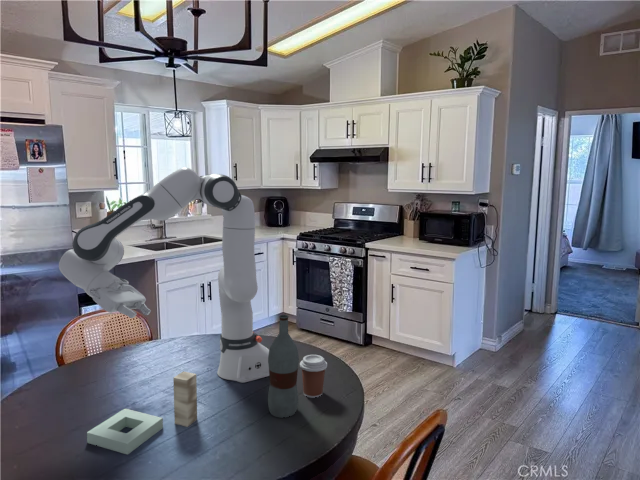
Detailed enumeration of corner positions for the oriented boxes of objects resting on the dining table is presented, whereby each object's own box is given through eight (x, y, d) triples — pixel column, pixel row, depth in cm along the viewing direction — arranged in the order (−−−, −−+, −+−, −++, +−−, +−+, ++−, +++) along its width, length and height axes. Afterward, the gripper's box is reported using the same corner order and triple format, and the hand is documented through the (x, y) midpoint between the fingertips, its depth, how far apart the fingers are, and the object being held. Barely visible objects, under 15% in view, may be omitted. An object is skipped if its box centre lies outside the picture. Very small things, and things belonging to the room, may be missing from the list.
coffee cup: (317, 402, 146) (317, 366, 144) (293, 394, 150) (294, 360, 149) (331, 391, 153) (332, 357, 152) (309, 384, 158) (309, 351, 156)
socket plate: (125, 418, 134) (124, 408, 134) (163, 427, 130) (162, 417, 129) (87, 442, 122) (86, 432, 121) (127, 454, 117) (127, 443, 117)
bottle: (299, 404, 144) (301, 312, 140) (296, 419, 135) (297, 321, 131) (270, 402, 145) (270, 310, 141) (265, 417, 136) (265, 320, 132)
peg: (184, 416, 136) (183, 371, 134) (197, 419, 135) (196, 374, 133) (174, 423, 132) (173, 377, 130) (187, 427, 130) (186, 380, 128)
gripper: (92, 280, 129) (131, 308, 127) (128, 279, 149) (161, 303, 148) (79, 298, 129) (118, 327, 127) (117, 295, 149) (150, 320, 148)
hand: (141, 314), depth 138 cm, fingers open, 8 cm apart
